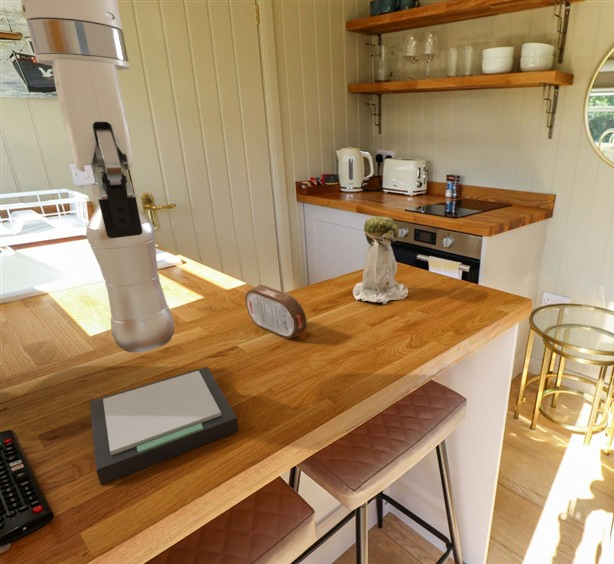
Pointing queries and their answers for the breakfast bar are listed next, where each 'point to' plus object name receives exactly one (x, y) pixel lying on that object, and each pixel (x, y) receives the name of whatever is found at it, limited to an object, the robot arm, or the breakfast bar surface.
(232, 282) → the breakfast bar surface
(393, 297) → the draped concrete planter
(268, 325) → the tin
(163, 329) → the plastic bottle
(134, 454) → the scale
